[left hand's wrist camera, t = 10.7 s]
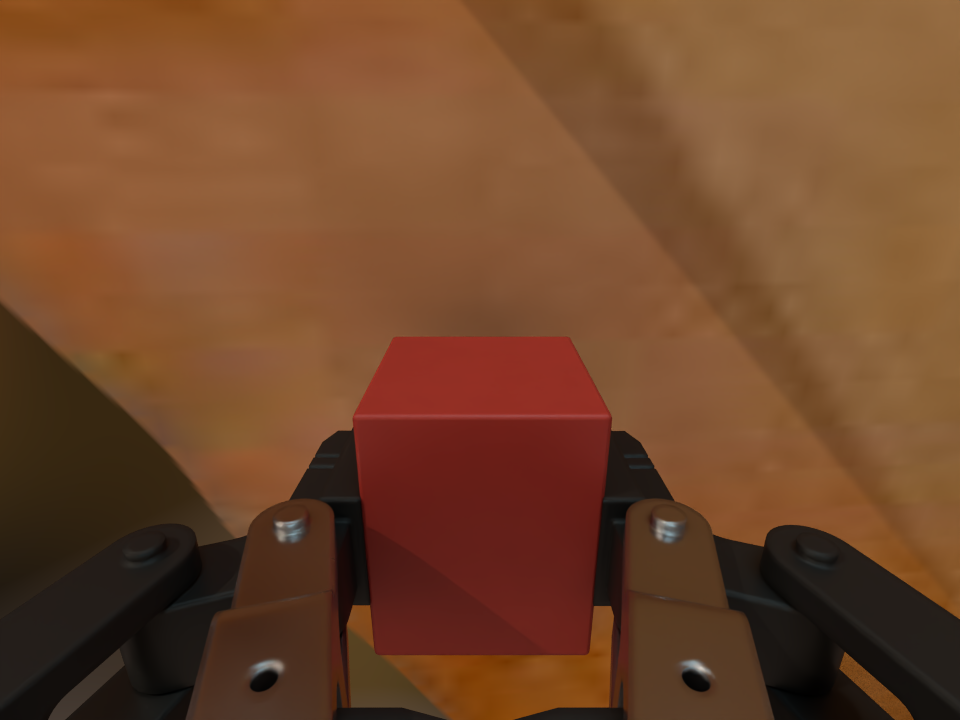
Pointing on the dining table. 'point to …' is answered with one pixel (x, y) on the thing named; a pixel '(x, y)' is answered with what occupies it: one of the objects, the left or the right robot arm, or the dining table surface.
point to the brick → (482, 496)
